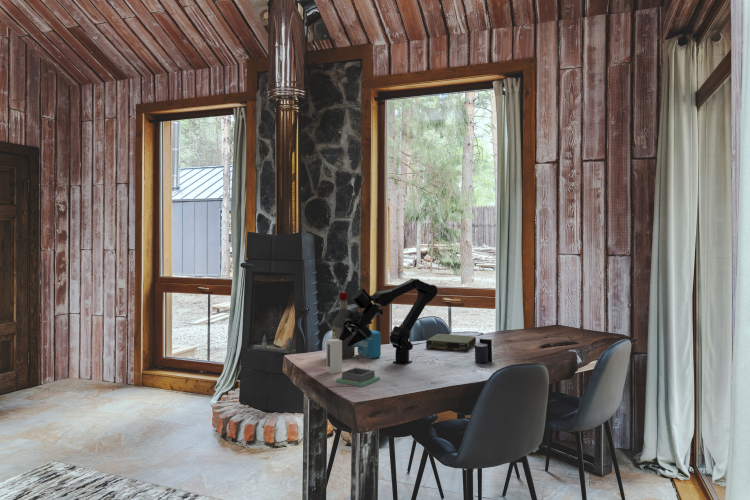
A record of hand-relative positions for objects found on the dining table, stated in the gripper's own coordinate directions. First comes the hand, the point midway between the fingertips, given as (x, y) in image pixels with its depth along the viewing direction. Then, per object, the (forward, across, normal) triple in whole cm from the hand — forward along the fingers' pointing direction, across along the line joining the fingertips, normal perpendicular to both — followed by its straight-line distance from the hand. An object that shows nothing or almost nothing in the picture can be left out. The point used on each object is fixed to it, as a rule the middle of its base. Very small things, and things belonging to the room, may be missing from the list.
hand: (343, 343), depth 203 cm
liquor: (0, -24, +16) cm, 29 cm away
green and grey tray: (+9, +17, +7) cm, 20 cm away
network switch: (-42, -18, +58) cm, 74 cm away
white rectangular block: (+11, 0, +5) cm, 12 cm away
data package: (-8, -19, +24) cm, 31 cm away
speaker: (-35, +17, +50) cm, 64 cm away
